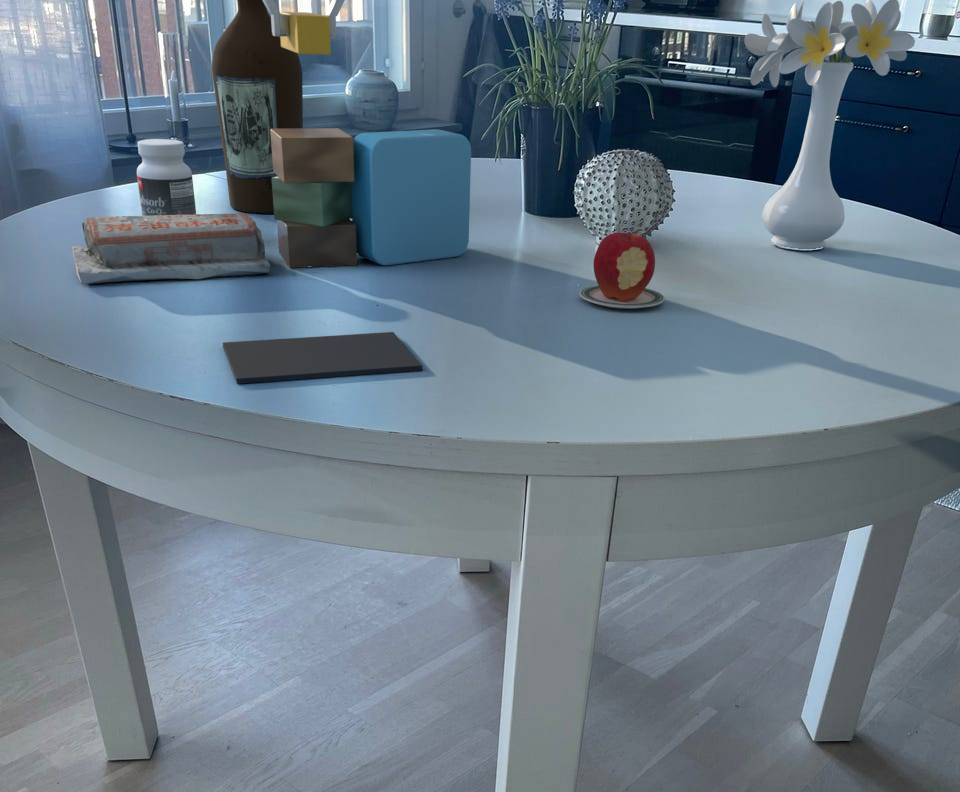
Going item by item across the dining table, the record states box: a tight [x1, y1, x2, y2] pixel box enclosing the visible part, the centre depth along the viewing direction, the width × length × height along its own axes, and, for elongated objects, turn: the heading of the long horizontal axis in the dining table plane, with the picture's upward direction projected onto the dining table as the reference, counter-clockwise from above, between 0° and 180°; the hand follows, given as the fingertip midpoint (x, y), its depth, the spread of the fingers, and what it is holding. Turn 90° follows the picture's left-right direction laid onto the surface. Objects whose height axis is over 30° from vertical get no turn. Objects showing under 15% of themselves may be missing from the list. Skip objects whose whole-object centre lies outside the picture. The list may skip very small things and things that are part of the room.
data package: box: [351, 128, 472, 267], centre depth 106 cm, size 12×4×12 cm, turn 125°
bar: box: [279, 11, 332, 56], centre depth 96 cm, size 3×10×3 cm, turn 18°
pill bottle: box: [136, 138, 197, 216], centre depth 109 cm, size 6×6×10 cm
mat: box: [222, 331, 423, 385], centre depth 79 cm, size 14×9×1 cm, turn 108°
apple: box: [579, 228, 665, 310], centre depth 95 cm, size 8×8×6 cm
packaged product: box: [72, 212, 271, 285], centre depth 100 cm, size 18×5×10 cm
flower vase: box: [743, 0, 916, 249], centre depth 113 cm, size 13×18×25 cm
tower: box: [270, 127, 358, 269], centre depth 104 cm, size 8×8×12 cm
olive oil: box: [211, 0, 304, 215], centre depth 123 cm, size 11×11×25 cm
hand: (304, 37), depth 96 cm, fingers closed on bar, 3 cm apart
